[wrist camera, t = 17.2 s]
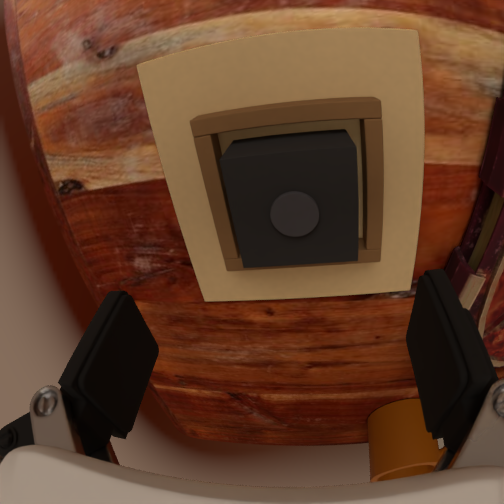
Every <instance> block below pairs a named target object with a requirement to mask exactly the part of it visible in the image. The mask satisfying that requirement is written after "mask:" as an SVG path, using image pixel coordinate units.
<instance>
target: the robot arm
mask: <svg viewBox="0 0 504 504" xmlns="http://www.w3.org/2000/svg"><path fill="white" fill-rule="evenodd" d="M406 342H407V347H408V351H409V354H410V358H411V362H412V366H413V370H414V375H415V379H416V383H417V388H418V392H419V397H420V401H421V406H422V411H423V416H424V421H425V427H426V430H427V432H428V433H430V432H431V433H432V438H433V440H434V439H439V438H443V440H444V446H445V447H446V448H445V450H444V452H443V454H442V455H441V457H440V459H439V460H438V462H437V464H436V465H435V467H434V468H433V470H432V472H431V473H426V474H421V475H415V476H410V477H404V478H398V479H392V480H385V481H377V482H369V483H361V484H351V485H339V486H323V487H258V486H257V487H256V486H241V485H228V484H219V483H210V482H202V481H195V480H188V479H182V478H176V477H170V476H165V475H160V474H155V473H150V472H146V471H141V470H136V469H133V468H129V467H125V466H121V465H120V464H119V462H118V460H117V457H116V455H115V452H114V450H113V447H112V445H111V442H110V438H111V435H112V436H114V437H118V438H123V439H126V437H127V434H128V432H130V431H131V430H132V428H133V425H134V422H135V419H136V416H137V413H138V410H139V407H140V404H141V401H142V399H143V396H144V393H145V390H146V387H147V384H148V381H149V379H150V376H151V373H152V370H153V367H154V365H155V362H156V359H157V356H158V353H159V348H158V345H157V343H156V341H155V339H154V337H153V336H152V334H151V332H150V330H149V328H148V326H147V325H146V323H145V321H144V319H143V317H142V315H141V313H140V311H139V309H138V307H137V306H136V304H135V302H134V300H133V298H132V296H131V295H128V293H127V292H126V291H110V292H109V293H108V294H107V296H106V297H105V299H104V300H103V302H102V304H101V305H100V307H99V309H98V311H97V312H96V314H95V316H94V317H93V319H92V321H91V322H90V324H89V326H88V328H87V330H86V331H85V333H84V335H83V337H82V338H81V340H80V342H79V344H78V346H77V347H76V349H75V351H74V353H73V355H72V357H71V358H70V360H69V362H68V364H67V366H66V368H65V370H64V372H63V374H62V376H61V378H60V380H59V382H58V383H59V384H60V385H61V388H60V390H59V389H58V388H57V387H55V386H45V387H43V388H41V389H40V390H39V391H37V392H36V393H35V394H34V396H33V398H32V400H31V403H30V412H29V413H27V414H25V415H23V416H22V417H20V418H18V419H16V420H15V421H13V422H11V423H9V424H8V425H6V426H4V427H3V428H2V429H1V430H0V504H504V379H501V380H498V377H497V374H496V371H495V369H494V366H493V364H492V361H491V359H490V356H489V354H488V351H487V349H486V347H485V344H484V342H483V339H482V337H481V335H480V333H479V330H478V328H477V326H476V324H475V322H474V320H473V317H472V315H471V313H470V312H469V310H468V309H466V308H463V306H462V304H461V302H460V300H459V298H458V296H457V294H456V292H455V290H454V288H453V286H452V284H451V282H450V280H449V278H448V276H447V275H446V273H445V271H444V270H443V269H436V270H427V271H425V273H424V276H420V277H419V280H418V285H417V290H416V295H415V300H414V304H413V309H412V313H411V318H410V322H409V326H408V330H407V334H406Z"/></svg>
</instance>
